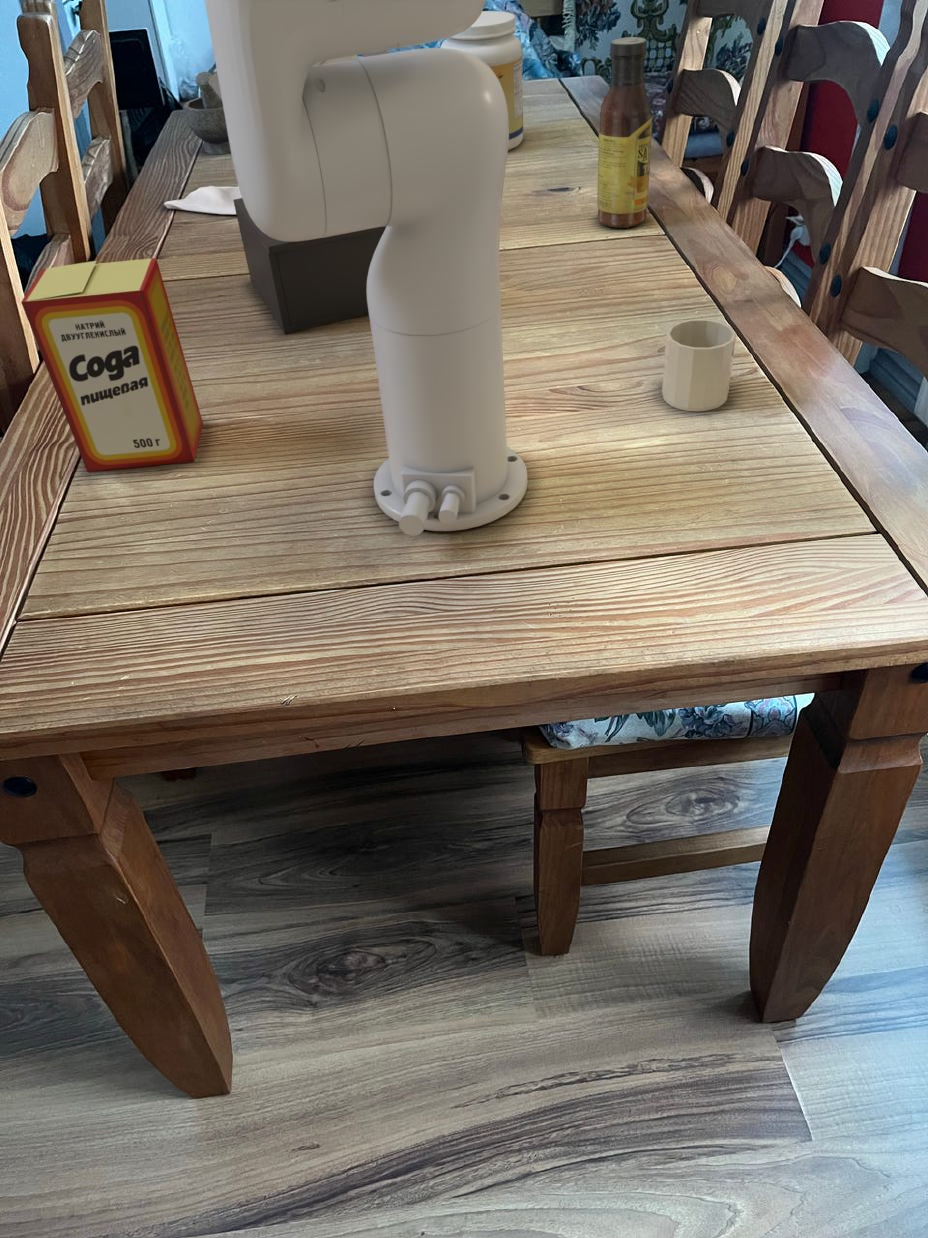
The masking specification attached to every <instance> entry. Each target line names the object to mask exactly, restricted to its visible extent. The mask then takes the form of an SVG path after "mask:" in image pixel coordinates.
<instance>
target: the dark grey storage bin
mask: <svg viewBox="0 0 928 1238" xmlns="http://www.w3.org/2000/svg"><path fill="white" fill-rule="evenodd" d="M235 210H236V219H237V224H238V228H239V233H240V238H241V241H242V242H241V243H242V246H243V251H244V256H245V260H246V264H247V269H248V273H249V278H250V282H251V285H252V286H253V288H254V289H255V290H256V293H257V294H258V295H259V297H260V298H261V300H262V302H263V303H264V305H265V306H266V308H267V309H268V311H269V312H270V314H271V315H272V317H273V319H274V320H275V322H276V323H277V325H278V326H279V328H280V330H281V331H282V333H283V334H284V335H287V334H291V333H296V332H300V331H304V330H308V329H312V328H316V327H317V328H318V327H321V326H325V325H330V324H335V323H339V322H343V321H346V320H351V319H354V318H359V317H363V316H368V315H369V311H368V304H367V291H366V288H367V277H368V272H369V267H370V264H371V261H372V258H373V255H374V252H375V250H376V248H377V245H378V243H379V241H380V239H381V237H382V235H383V233H384V231H385V230H382V231H377V232H372V233H368V234H363V235H359V236H354V237H349V238H345V239H340V240H335V241H331V242H326V243H322V244H317V245H312V246H308V247H303V248H299V249H294V250H289V251H285V252H280V253H275V254H271V255H270V254H269V253H268V251H267V250H266V249H265V247H264V246H263V245H262V243H261V242H260V240H259V239H258V238H257V236H256V235H255V234H254V232H253V231H252V230H251V228H250V227H249V225H248V224H247V223H246V221H245V220H244V219H243V217H242V216H241V215H240V213H239V212H238V210H237V209H236V208H235Z"/></svg>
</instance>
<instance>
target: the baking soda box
mask: <svg viewBox="0 0 928 1238" xmlns="http://www.w3.org/2000/svg"><path fill="white" fill-rule="evenodd" d="M165 287H166V286H165V284H164V280H163V276H162V273H161V270H160V267H159V262H158V259H157V257H152V258H143V259H131V260H120V261H111V262H100V263H97V260H92V261H86V262H79V263H73V264H67V265H60V266H53V267H48V268H47V267H46V268H42V269H40V272H39V273H38V274H37V276H36V277H35V279H34V281H33V282H32V284H31V286H30V287H29V289H28V290H27V292H26V294H25V295H24V297H23V298H22V299H21V302H20V303H21V306H22V308H23V311H24V314H25V316H26V318H27V319H26V320H27V321H28V323H29V326H30V329H31V332H32V334H33V337H34V339H35V341H36V344H37V346H38V349H39V352H40V354H41V357H42V360H43V362H44V364H45V365H44V366H45V368H46V370H47V372H48V375H49V377H50V380H51V382H52V385H53V387H54V390H55V393H56V395H57V398H58V401H59V403H60V406H61V408H62V411H63V413H64V416H65V418H66V419H65V420H66V421H67V424H68V426H69V429H70V432H71V434H72V437H73V438H74V442H75V444H76V446H77V447H76V448H77V450H78V452H79V455H80V457H81V460H82V463H83V465H84V467H85V471H86V473H90V472H100V471H110V470H121V469H129V468H140V467H148V466H149V467H150V466H161V465H168V464H169V465H170V464H179V463H190V462H195V460H196V455H197V450H198V446H199V442H200V438H201V434H202V430H203V426H204V422H203V421H204V420H203V418H202V414H201V411H200V408H199V404H198V401H197V397H196V393H195V389H194V386H193V383H192V379H191V376H190V373H189V369H188V364H187V361H186V358H185V354H184V350H183V347H182V343H181V340H180V337H179V333H178V330H177V326H176V322H175V319H174V315H173V311H172V309H171V305H170V302H169V298H168V294H167V291H166V288H165Z"/></svg>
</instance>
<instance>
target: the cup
mask: <svg viewBox="0 0 928 1238" xmlns="http://www.w3.org/2000/svg"><path fill="white" fill-rule="evenodd" d="M736 338H737V333H736V331H735V330H734V329H733V327H732V326H730V325H728V324H726V323H725V322H723V321H718V320H713V319H709V318H692V319H687V320H683V321H678V322H676V323H674V324H673V325H671V326H669V328H668V330H667V332H666V336H665V349H664V360H663V361H664V362H663V374H662V384H661V385H662V386H661V393H662V399H663V401H664V402H666V404H668V405H669V406H671V407H673V408H675V409H678V410H682V411H686V412H707V411H711V410H715V409H718V408H719V407H721V406H723V405H724V404H725V403H726V402H727V400H728V397H729V392H730V384H731V379H732V369H733V361H734V354H735V347H736Z"/></svg>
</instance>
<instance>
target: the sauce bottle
mask: <svg viewBox="0 0 928 1238" xmlns="http://www.w3.org/2000/svg"><path fill="white" fill-rule="evenodd" d="M647 42H648V41H647V39H646V38H644V37H639V36H626V37H620V38H615V39H613V40H611V41H610V48H609V49H610V50H609V51H610V59H611V73H610V75H611V76H610V80H609V81H610V87H609V89H608V91H607V93H606V95H604V98H603V101H602V103H601V105H600V113H599V120H600V122H599V131H598V151H597V152H598V153H597V155H598V156H597V157H598V159H597V161H598V162H597V193H596V194H597V195H596V196H597V197H596V198H597V201H596V208H597V219H598V222H599V223H600V224H601V225H603V226H606V227H610V228H630V227H635V226H638V225H640V224H642V223H643V222H645V219H646V216H647V209H648V206H649V205H648V204H649V189H650V188H649V186H650V171H651V170H650V169H651V157H652V156H651V155H652V153H651V152H652V136H653V135H652V134H653V116H654V115H653V112H652V108H651V105H650V102H649V97H648V92H647V89H646V85H645V57H646V54H647V50H648V47H647Z"/></svg>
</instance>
